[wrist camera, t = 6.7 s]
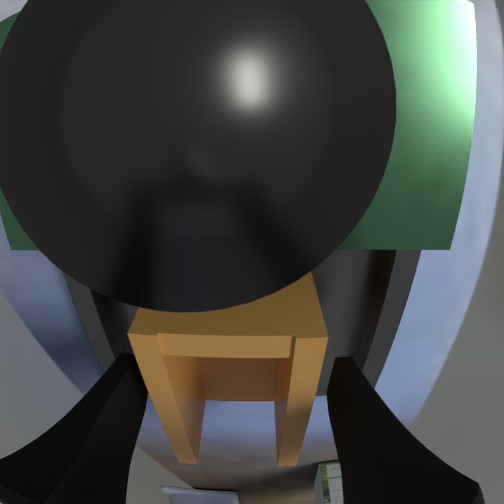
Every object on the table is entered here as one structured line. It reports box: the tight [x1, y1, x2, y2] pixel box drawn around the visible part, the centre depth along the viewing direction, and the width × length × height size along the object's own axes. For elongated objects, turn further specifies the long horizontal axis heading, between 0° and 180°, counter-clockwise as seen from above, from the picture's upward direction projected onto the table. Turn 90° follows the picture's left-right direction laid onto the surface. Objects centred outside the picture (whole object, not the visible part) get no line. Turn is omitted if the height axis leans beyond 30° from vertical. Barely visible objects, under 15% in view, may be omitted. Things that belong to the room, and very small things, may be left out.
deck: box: [0, 0, 476, 396], centre depth 9 cm, size 18×15×7 cm
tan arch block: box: [128, 271, 328, 466], centre depth 11 cm, size 8×5×4 cm, turn 0°
